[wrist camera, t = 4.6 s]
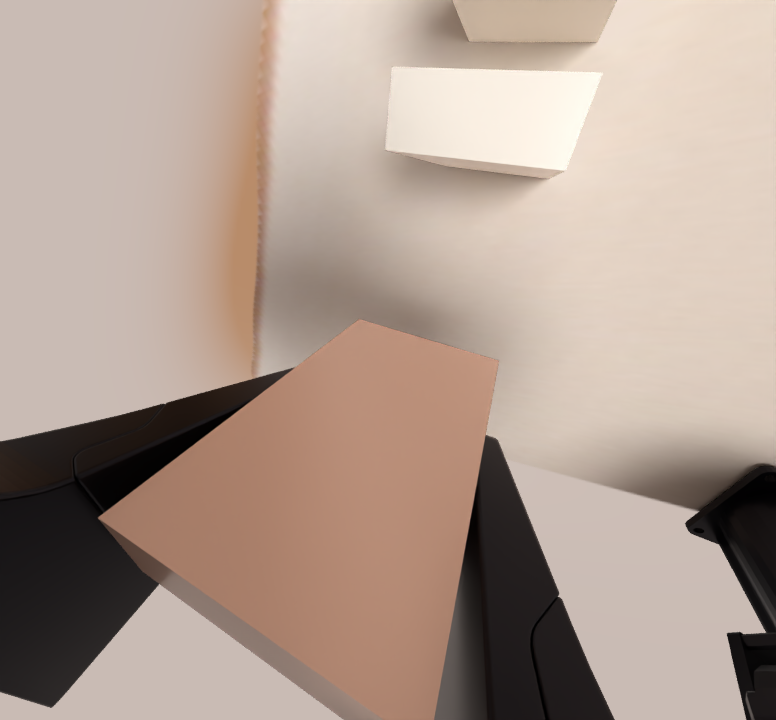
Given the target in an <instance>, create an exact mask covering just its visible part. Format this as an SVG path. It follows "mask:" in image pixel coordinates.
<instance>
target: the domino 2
mask: <svg viewBox="0 0 776 720" xmlns="http://www.w3.org/2000/svg"><path fill="white" fill-rule="evenodd" d="M452 1H453V3H454V6H455V8H456V11H457V13H458V16H459V18H460V20H461V23H462V25H463V28H464V30H465V33H466V35H467V37H468V40H469V42H598V40H599V38H600V36H601V34H602V32H603V29H604V27H605V25H606V23H607V21H608V19H609V17H610V14H611V12H612V10H613V8H614V6H615V4H616V2H617V0H452Z"/></svg>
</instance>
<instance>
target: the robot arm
mask: <svg viewBox="0 0 776 720" xmlns="http://www.w3.org/2000/svg"><path fill="white" fill-rule="evenodd" d="M293 369H294V368H291V369H287V370H284V371H280V372H277V373H273V374H269V375H266V376H262V377H258V378H255V379H252V380H248V381H244V382H240V383H237V384H233V385H229V386H226V387H222V388H218V389H215V390H211V391H208V392H204V393H200V394H197V395H193V396H190V397H186V398H183V399H179V400H175V401H171V402H168V403H166V404H160V405H157V406H153V407H149V408H146V409H142V410H138V411H134V412H130V413H126V414H122V415H119V416H114V417H110V418H106V419H101V420H97V421H93V422H89V423H84V424H80V425H75V426H70V427H66V428H61V429H57V430H52V431H48V432H43V433H39V434H35V435H30V436H25V437H21V438H16V439H11V440H6V441H0V692H2V693H5V694H8V695H11V696H15V697H18V698H21V699H24V700H27V701H31V702H34V703H37V704H40V705H44V706H47V707H50V708H52V707H53V706H54V705H55V704H56V703H57V702H58V701H59V700H60V699H61V698H62V697H63V695H64V694H65V693H66V692H67V691H68V690H69V689H70V687H71V686H72V685H73V684H74V683H75V682H76V680H77V679H78V678H79V677H80V676H81V675H82V674H83V672H84V671H85V670H86V669H87V668H88V666H89V665H90V664H91V663H92V662H93V661H94V659H95V658H96V657H97V656H98V655H99V654H100V653H101V651H102V650H103V649H104V648H105V647H106V646H107V644H108V643H109V642H110V641H111V640H112V639H113V637H114V636H115V635H116V634H117V633H118V632H119V630H120V629H121V628H122V627H123V626H124V625H125V623H126V622H127V621H128V620H129V619H130V618H131V616H132V615H133V614H134V613H135V612H136V611H137V610H138V608H139V607H140V606H141V605H142V604H143V603H144V601H145V600H146V599H147V598H148V596H150V594H151V593H152V592H153V591H154V590H155V589H156V587H157V586H158V585H159V583H158V582H156V581H155V580H153V579H152V578H151V577H149V576H148V575H147V574H145V573H144V572H143V571H142V570H141V569H140V568H139V567H138V566H137V564H136V563H135V562H134V561H133V560H132V558H131V557H130V556H129V555H128V554H127V552H126V551H125V550H124V549H123V548H122V546H121V545H120V544H119V543H118V542H117V540H116V539H115V538H114V537H113V536H112V534H111V533H110V532H109V531H108V530H107V528H106V527H105V526H104V525H103V524H102V522H101V521H100V520H99V519H98V517H99V516H101V515H102V514H103V513H105V512H106V511H107V510H109V509H110V508H111V507H113V506H114V505H115V504H117V503H118V502H119V501H120V500H122V499H123V498H124V497H126V496H127V495H128V494H130V493H131V492H132V491H134V490H135V489H136V488H138V487H139V486H140V485H142V484H143V483H144V482H145V481H147V480H148V479H149V478H151V477H152V476H153V475H155V474H156V473H157V472H159V471H160V470H161V469H163V468H164V467H165V466H167V465H168V464H169V463H170V462H172V461H173V460H174V459H176V458H177V457H178V456H180V455H181V454H182V453H184V452H185V451H186V450H188V449H189V448H190V447H192V446H193V445H194V444H195V443H197V442H198V441H199V440H201V439H202V438H203V437H205V436H206V435H207V434H209V433H210V432H211V431H213V430H214V429H215V428H217V427H218V426H219V425H220V424H222V423H223V422H224V421H226V420H227V419H228V418H230V417H231V416H232V415H234V414H235V413H236V412H238V411H239V410H240V409H241V408H243V407H244V406H245V405H247V404H248V403H249V402H251V401H252V400H253V399H255V398H256V397H257V396H259V395H260V394H261V393H263V392H264V391H265V390H266V389H268V388H269V387H270V386H272V385H273V384H274V383H276V382H277V381H278V380H280V379H281V378H282V377H284V376H285V375H286V374H288V373H289V372H290V371H291V370H293ZM768 475H771V476H768ZM685 524H686V527H687V529H688V531H689V532H690V533H691V534H694V535H696V536H699V537H701V538H704V539H706V540H709V541H711V542H714V543H717V544H719V545H720V547H721V549H722V551H723V553H724V554H725V556H726V558H727V560H728V562H729V564H730V566H731V568H732V569H733V571H734V573H735V575H736V577H737V579H738V581H739V582H740V584H741V586H742V588H743V590H744V592H745V594H746V596H747V597H748V599H749V601H750V603H751V605H752V607H753V609H754V611H755V613H756V614H757V616H758V618H759V620H760V622H761V624H762V626H763V628H764V629H765V631H766V633H759V634H742V633H741V632H733V633H727V637H728V641H729V645H730V649H731V655H732V659H733V664H734V668H735V672H736V676H737V681H738V685H739V689H740V693H741V698H742V702H743V706H744V711H745V715H746V720H776V467H771V466H762V467H758V468H756V469H754V470H753V471H752V472H751V473H749V474H748V475H747V476H745V477H744V478H743V479H741V480H740V481H739V482H737V483H736V484H735V485H734V486H732V487H731V488H730V489H728V490H727V491H726V492H724V493H723V494H722V495H720V496H719V497H718V498H717V499H715V500H714V501H713V502H711V503H710V504H709V505H707V506H706V507H705V508H703V509H702V510H701V511H699V512H698V513H697V514H696V515H694V516H693V517H692V518H691V519H689V520H688V521H687V522H686V523H685ZM558 595H559V591H558V589H557V586H556V584H555V582H554V579H553V576H552V574H551V572H550V569H549V567H548V564H547V562H546V559H545V556H544V554H543V551H542V549H541V546H540V544H539V541H538V539H537V536H536V534H535V531H534V529H533V527H532V524H531V522H530V519H529V517H528V514H527V512H526V509H525V507H524V504H523V502H522V499H521V497H520V494H519V492H518V489H517V487H516V484H515V482H514V479H513V477H512V474H511V472H510V469H509V467H508V464H507V462H506V459H505V457H504V454H503V452H502V449H501V447H500V444H499V442H498V440H497V439H496V438H493V437H490V436H488V435H485V441H484V446H483V452H482V457H481V463H480V468H479V474H478V479H477V485H476V490H475V496H474V501H473V507H472V512H471V518H470V524H469V529H468V535H467V540H466V546H465V551H464V557H463V562H462V568H461V573H460V579H459V584H458V590H457V595H456V601H455V606H454V612H453V617H452V623H451V629H450V634H449V640H448V645H447V651H446V656H445V662H444V667H443V673H442V678H441V684H440V689H439V695H438V700H437V706H436V711H435V717H434V720H615V719H614V718H613V715H612V713H611V711H610V709H609V707H608V705H607V702H606V700H605V698H604V696H603V694H602V692H601V690H600V687H599V685H598V683H597V681H596V679H595V677H594V675H593V672H592V670H591V668H590V666H589V664H588V661H587V659H586V656H585V654H584V652H583V650H582V647H581V645H580V642H579V640H578V638H577V635H576V633H575V630H574V628H573V626H572V624H571V621H570V619H569V616H568V613H567V611H566V608H565V606H564V603H563V601H562V599H561V598H560V597H558Z"/></svg>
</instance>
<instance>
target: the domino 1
mask: <svg viewBox="0 0 776 720" xmlns="http://www.w3.org/2000/svg"><path fill="white" fill-rule="evenodd" d="M498 363H499V361H498V360H495V359H491V358H488V357H485V356H481V355H478V354H475V353H471V352H468V351H464V350H461V349H458V348H454V347H451V346H448V345H444V344H441V343H438V342H434V341H431V340H428V339H424V338H421V337H418V336H414V335H411V334H407V333H404V332H401V331H397V330H394V329H391V328H387V327H384V326H381V325H377V324H374V323H371V322H367V321H364V320H360V319H359V320H357V321H356V322H355V323H353V324H352V325H351V326H349V327H348V328H347V329H345V330H344V331H343V332H341V333H340V334H339V335H338V336H336V337H335V338H334V339H332V340H331V341H330V342H328V343H327V344H326V345H324V346H323V347H322V348H320V349H319V350H318V351H316V352H315V353H314V354H313V355H311V356H310V357H309V358H307V359H306V360H305V361H303V362H302V363H301V364H299V365H298V366H297V367H295V368H294V369H293V370H291V371H290V372H289V373H288V374H286V375H285V376H284V377H282V378H281V379H280V380H278V381H277V382H276V383H274V384H273V385H272V386H270V387H269V388H268V389H266V390H265V391H264V392H263V393H261V394H260V395H259V396H257V397H256V398H255V399H253V400H252V401H251V402H249V403H248V404H247V405H245V406H244V407H243V408H241V409H240V410H239V411H238V412H236V413H235V414H234V415H232V416H231V417H230V418H228V419H227V420H226V421H224V422H223V423H222V424H220V425H219V426H218V427H217V428H215V429H214V430H213V431H211V432H210V433H209V434H207V435H206V436H205V437H203V438H202V439H201V440H199V441H198V442H197V443H195V444H194V445H193V446H192V447H190V448H189V449H188V450H186V451H185V452H184V453H182V454H181V455H180V456H178V457H177V458H176V459H174V460H173V461H172V462H170V463H169V464H168V465H167V466H165V467H164V468H163V469H161V470H160V471H159V472H157V473H156V474H155V475H153V476H152V477H151V478H149V479H148V480H147V481H145V482H144V483H143V484H142V485H140V486H139V487H138V488H136V489H135V490H134V491H132V492H131V493H130V494H128V495H127V496H126V497H124V498H123V499H122V500H120V501H119V502H118V503H117V504H115V505H114V506H113V507H111V508H110V509H109V510H107V511H106V512H105V513H103V514H102V515H101V516H99V517H98V519H99V520H100V521H101V522H102V524H103V525H104V526H105V527H106V528H107V530H108V531H109V532H110V533H111V534H112V536H113V537H114V538H115V539H116V540H117V542H118V543H119V544H120V545H121V546H122V548H123V549H124V550H125V551H126V552H127V554H128V555H129V556H130V557H131V558H132V560H133V561H134V562H135V563H136V564H137V566H138V567H139V568H140V569H141V570H142V571H143V572H144V573H145V574H147V575H148V576H149V577H151V578H152V579H153V580H155V581H156V582H158V583H159V584H160V585H162V586H163V587H164V588H166V589H167V590H168V591H170V592H171V593H172V594H174V595H175V596H177V597H178V598H179V599H181V600H182V601H183V602H185V603H186V604H188V605H189V606H190V607H192V608H193V609H194V610H196V611H197V612H198V613H200V614H201V615H202V616H204V617H205V618H206V619H208V620H209V621H211V622H212V623H213V624H215V625H216V626H217V627H219V628H220V629H221V630H223V631H224V632H225V633H227V634H228V635H230V636H231V637H232V638H234V639H235V640H236V641H238V642H239V643H241V644H242V645H243V646H244V647H246V648H247V649H249V650H250V651H251V652H253V653H254V654H255V655H257V656H258V657H259V658H261V659H262V660H264V661H265V662H266V663H268V664H269V665H270V666H272V667H273V668H274V669H276V670H277V671H278V672H280V673H281V674H282V675H284V676H285V677H287V678H288V679H289V680H291V681H292V682H293V683H295V684H296V685H298V686H299V687H300V688H302V689H303V690H304V691H306V692H307V693H308V694H310V695H311V696H313V697H314V698H315V699H316V700H318V701H319V702H321V703H322V704H323V705H325V706H326V707H327V708H329V709H330V710H331V711H333V712H334V713H335V714H337V715H338V716H340V717H341V718H342V719H344V720H434V717H435V711H436V706H437V700H438V695H439V689H440V684H441V678H442V673H443V667H444V662H445V656H446V651H447V645H448V640H449V634H450V629H451V623H452V617H453V612H454V606H455V601H456V595H457V590H458V584H459V579H460V573H461V568H462V562H463V557H464V551H465V546H466V540H467V535H468V529H469V524H470V518H471V512H472V507H473V501H474V496H475V490H476V485H477V479H478V474H479V468H480V463H481V457H482V452H483V446H484V441H485V435H486V430H487V424H488V419H489V413H490V407H491V402H492V396H493V391H494V385H495V380H496V374H497V369H498Z"/></svg>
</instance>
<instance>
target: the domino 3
mask: <svg viewBox="0 0 776 720" xmlns="http://www.w3.org/2000/svg"><path fill="white" fill-rule="evenodd" d="M602 74H603V73H598V72H563V71H527V70H492V69H457V68H422V67H392V73H391V85H390V96H389V108H388V120H387V131H386V143H385V150H386V151H390V152H394V153H397V154H401V155H405V156H409V157H413V158H417V159H420V160H424V161H428V162H432V163H436V164H439V165H443V166H448V167H456V168H464V169H472V170H480V171H488V172H496V173H504V174H513V175H521V176H529V177H537V178H545V179H550V178H552V177H554V176H556V175H558V174H560V173H562V172H564V171H566V169H567V166H568V163H569V161H570V158H571V155H572V153H573V150H574V147H575V145H576V142H577V140H578V137H579V134H580V132H581V129H582V126H583V124H584V121H585V118H586V116H587V113H588V111H589V108H590V105H591V103H592V100H593V97H594V95H595V92H596V89H597V87H598V84H599V81H600V79H601V76H602Z"/></svg>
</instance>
